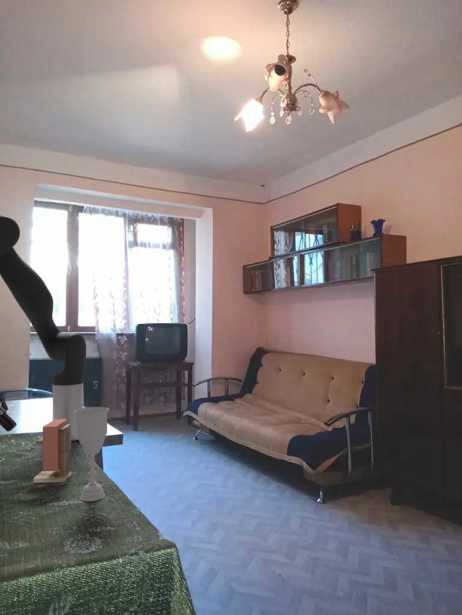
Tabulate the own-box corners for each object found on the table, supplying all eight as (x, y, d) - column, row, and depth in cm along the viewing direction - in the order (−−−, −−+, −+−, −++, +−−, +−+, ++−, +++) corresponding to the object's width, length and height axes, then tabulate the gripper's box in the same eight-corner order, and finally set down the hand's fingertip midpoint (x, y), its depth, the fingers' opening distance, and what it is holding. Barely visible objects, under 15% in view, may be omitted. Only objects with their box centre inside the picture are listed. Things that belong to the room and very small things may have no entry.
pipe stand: (41, 475, 111) (41, 425, 111) (71, 474, 111) (70, 424, 111) (33, 482, 106) (33, 430, 106) (64, 481, 106) (63, 429, 106)
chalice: (116, 492, 99) (115, 407, 99) (97, 504, 92) (96, 414, 93) (88, 489, 101) (87, 406, 101) (67, 500, 94) (66, 412, 95)
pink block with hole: (55, 460, 112) (55, 419, 112) (67, 460, 112) (67, 419, 113) (43, 471, 104) (42, 426, 104) (56, 470, 104) (56, 426, 105)
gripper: (-45, 368, 102) (11, 422, 102) (-15, 362, 115) (35, 411, 115) (-70, 392, 101) (-13, 447, 101) (-37, 384, 115) (13, 433, 115)
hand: (12, 428), depth 108 cm, fingers closed
